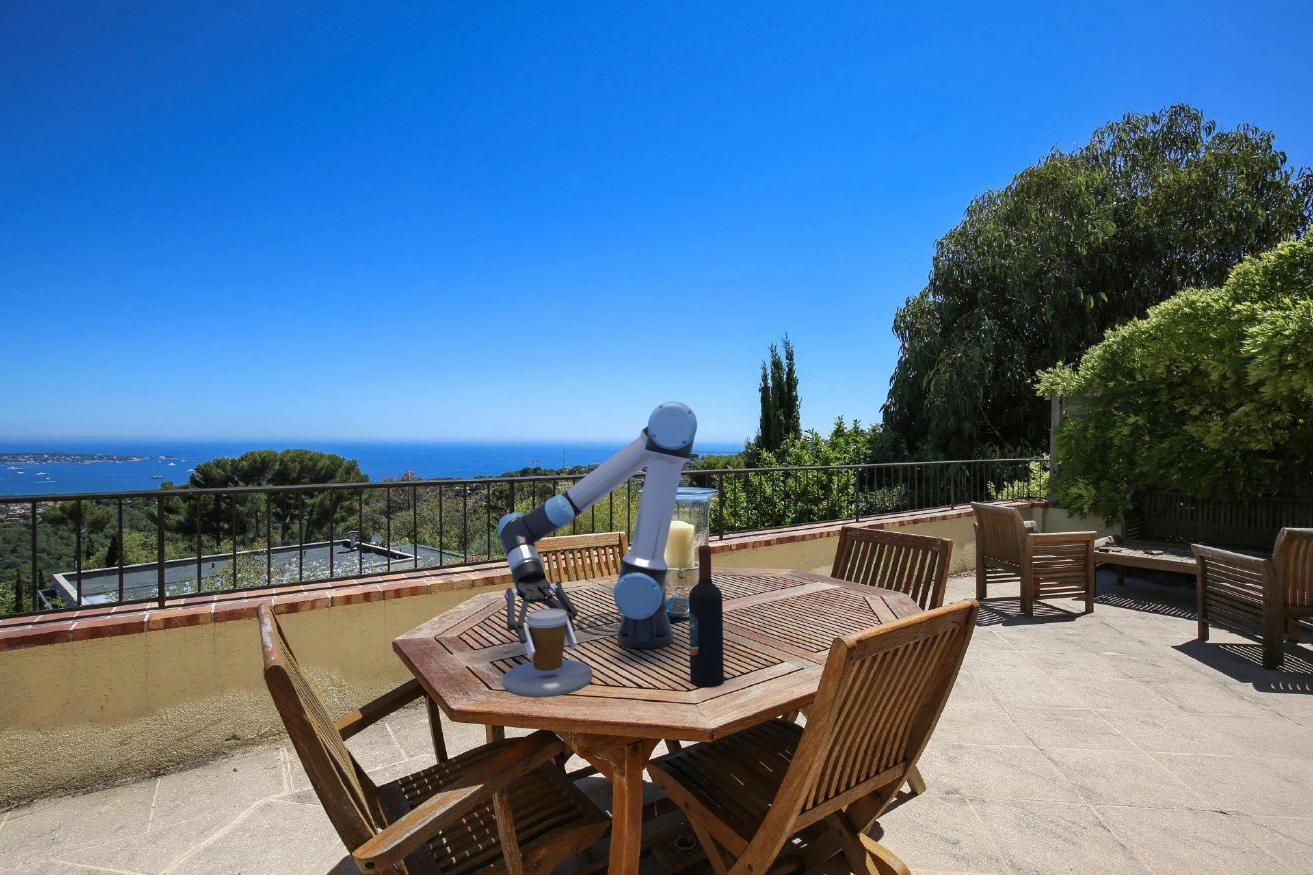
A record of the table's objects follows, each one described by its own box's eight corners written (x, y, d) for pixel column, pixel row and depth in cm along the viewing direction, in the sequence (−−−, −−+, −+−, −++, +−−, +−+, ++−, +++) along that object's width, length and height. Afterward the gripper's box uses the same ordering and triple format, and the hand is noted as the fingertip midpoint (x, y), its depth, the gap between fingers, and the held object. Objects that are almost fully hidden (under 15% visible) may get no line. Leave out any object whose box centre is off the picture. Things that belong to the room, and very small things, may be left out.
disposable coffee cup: (529, 660, 146) (528, 608, 146) (570, 658, 147) (569, 607, 147) (524, 674, 137) (523, 619, 137) (567, 672, 138) (567, 618, 138)
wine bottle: (714, 689, 134) (712, 550, 135) (684, 683, 138) (681, 547, 139) (729, 678, 140) (727, 545, 141) (700, 672, 145) (697, 543, 145)
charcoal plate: (600, 665, 150) (600, 660, 150) (580, 698, 131) (580, 692, 131) (520, 663, 153) (520, 658, 153) (488, 695, 133) (488, 689, 133)
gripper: (563, 572, 161) (592, 650, 147) (478, 583, 149) (501, 669, 135) (572, 554, 157) (602, 632, 143) (485, 564, 145) (509, 650, 131)
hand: (553, 650), depth 139 cm, fingers closed on disposable coffee cup, 9 cm apart
